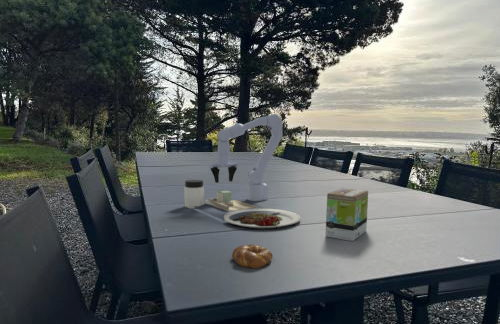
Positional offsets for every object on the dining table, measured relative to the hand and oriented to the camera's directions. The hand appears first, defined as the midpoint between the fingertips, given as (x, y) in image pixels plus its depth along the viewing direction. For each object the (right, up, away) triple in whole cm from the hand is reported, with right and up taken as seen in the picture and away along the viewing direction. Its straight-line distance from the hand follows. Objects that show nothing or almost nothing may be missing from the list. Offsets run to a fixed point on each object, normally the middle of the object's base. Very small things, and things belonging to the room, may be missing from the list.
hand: (223, 182), depth 182 cm
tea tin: (+1, -10, -10) cm, 14 cm away
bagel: (+14, -17, -82) cm, 84 cm away
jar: (-13, -11, -11) cm, 20 cm away
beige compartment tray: (+4, -11, -12) cm, 17 cm away
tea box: (+46, -15, -55) cm, 73 cm away
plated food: (+18, -14, -36) cm, 43 cm away
